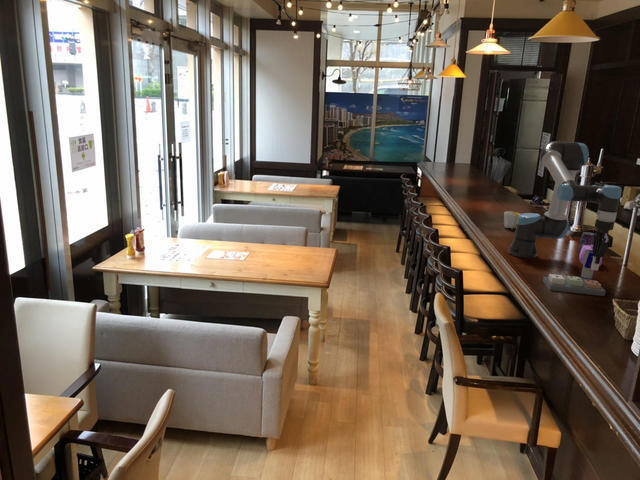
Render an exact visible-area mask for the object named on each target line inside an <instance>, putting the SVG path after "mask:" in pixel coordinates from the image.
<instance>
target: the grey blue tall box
mask: <svg viewBox="0 0 640 480" xmlns="http://www.w3.org/2000/svg"><path fill="white" fill-rule="evenodd" d="M593 256H594V255H593V253H592V250H586V255H585V259H584V264H582V268H581V269H582V270H581V273H580V274H581V275H580V278H581V279H582V280H583V281H584V280H593V277H594V272H595V270H592V269H591V265H592V261H593Z"/></svg>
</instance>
